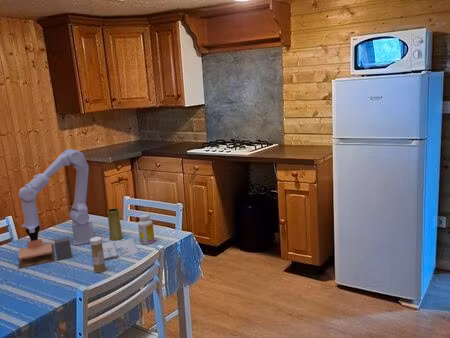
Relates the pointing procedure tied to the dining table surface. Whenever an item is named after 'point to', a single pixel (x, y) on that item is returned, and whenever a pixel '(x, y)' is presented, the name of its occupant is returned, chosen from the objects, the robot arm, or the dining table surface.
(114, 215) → the vase
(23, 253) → the panel
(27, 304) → the dining table surface
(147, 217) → the supplement bottle
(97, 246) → the sprinkles bottle
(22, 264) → the socket
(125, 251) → the open book
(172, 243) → the dining table surface
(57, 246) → the plug
